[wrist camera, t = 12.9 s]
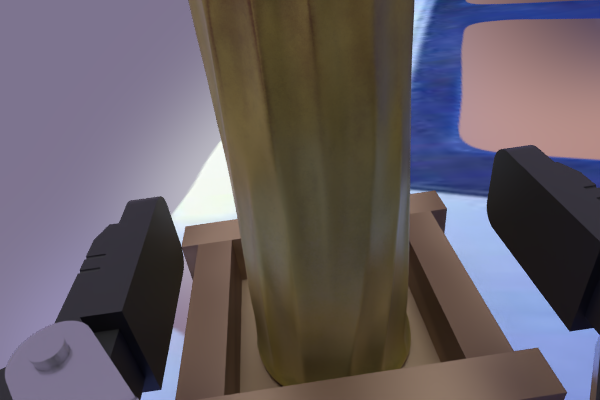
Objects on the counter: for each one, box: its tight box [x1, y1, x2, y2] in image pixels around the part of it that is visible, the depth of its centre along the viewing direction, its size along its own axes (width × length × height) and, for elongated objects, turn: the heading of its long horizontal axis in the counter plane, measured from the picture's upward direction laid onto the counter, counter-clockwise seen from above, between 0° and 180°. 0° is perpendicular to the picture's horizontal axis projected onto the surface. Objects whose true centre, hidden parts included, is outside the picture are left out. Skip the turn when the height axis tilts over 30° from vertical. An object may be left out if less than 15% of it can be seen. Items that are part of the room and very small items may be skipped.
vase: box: [188, 0, 414, 386], centre depth 14 cm, size 6×6×14 cm
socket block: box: [175, 191, 567, 400], centre depth 17 cm, size 12×12×4 cm
